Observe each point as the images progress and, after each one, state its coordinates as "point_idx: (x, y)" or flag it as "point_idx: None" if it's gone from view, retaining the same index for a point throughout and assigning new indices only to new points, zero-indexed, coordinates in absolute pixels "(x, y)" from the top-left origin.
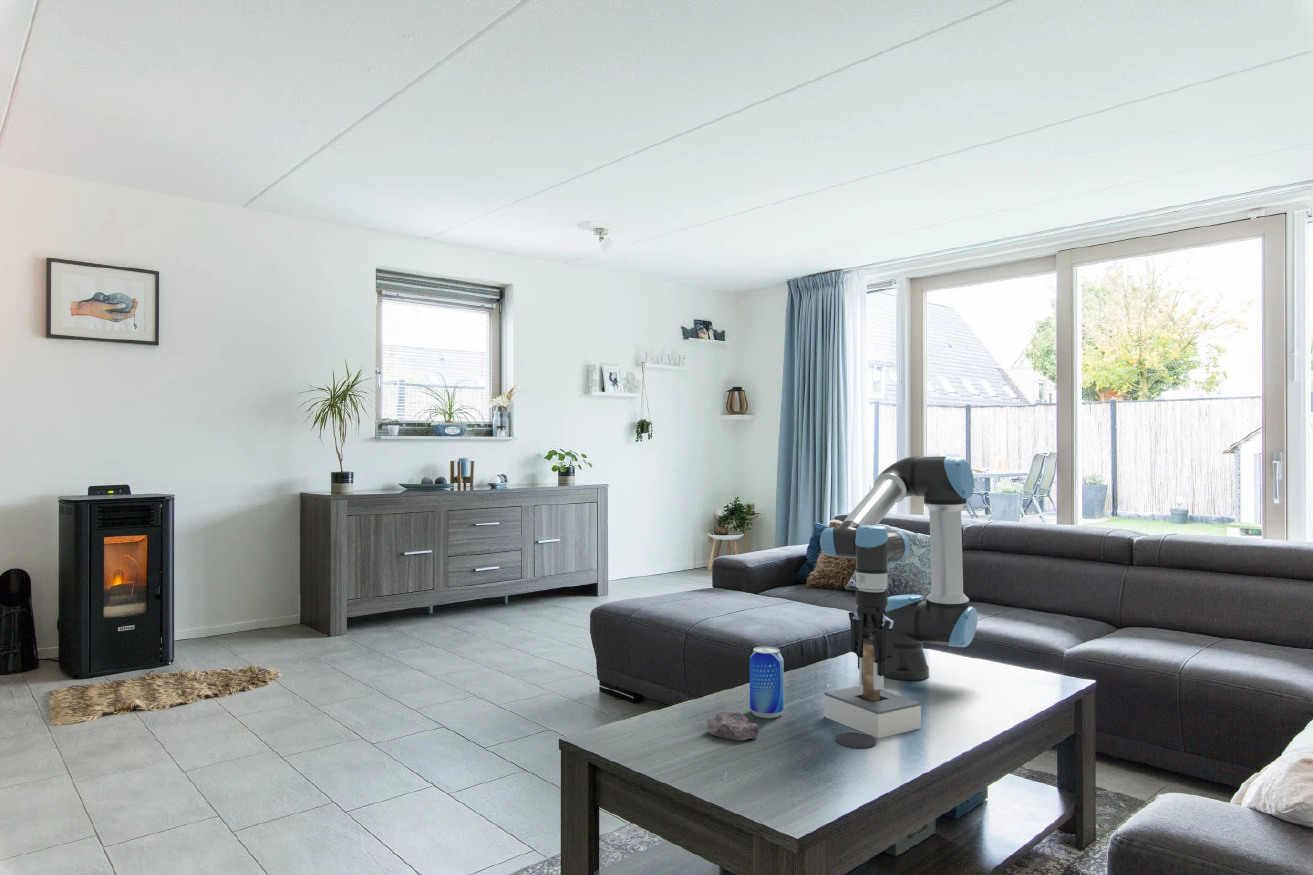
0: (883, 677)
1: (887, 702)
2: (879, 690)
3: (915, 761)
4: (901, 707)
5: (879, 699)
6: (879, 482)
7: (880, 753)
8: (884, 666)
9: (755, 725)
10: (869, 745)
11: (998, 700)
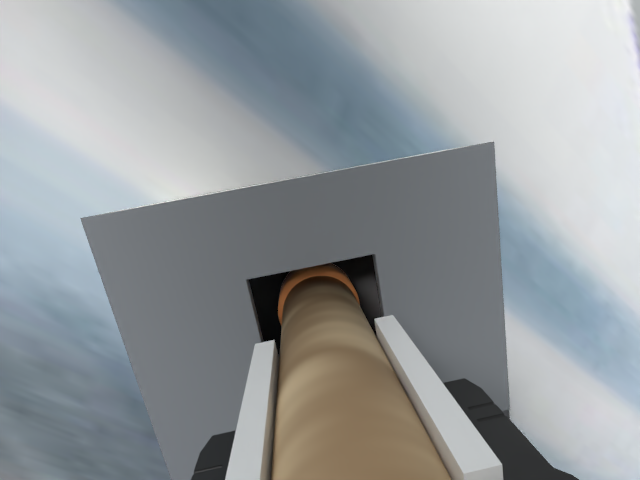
0: (420, 353)
1: (419, 298)
2: (368, 323)
3: (634, 353)
4: (499, 277)
5: (356, 301)
6: None
7: (548, 405)
8: (525, 449)
9: None
10: (508, 417)
11: None
